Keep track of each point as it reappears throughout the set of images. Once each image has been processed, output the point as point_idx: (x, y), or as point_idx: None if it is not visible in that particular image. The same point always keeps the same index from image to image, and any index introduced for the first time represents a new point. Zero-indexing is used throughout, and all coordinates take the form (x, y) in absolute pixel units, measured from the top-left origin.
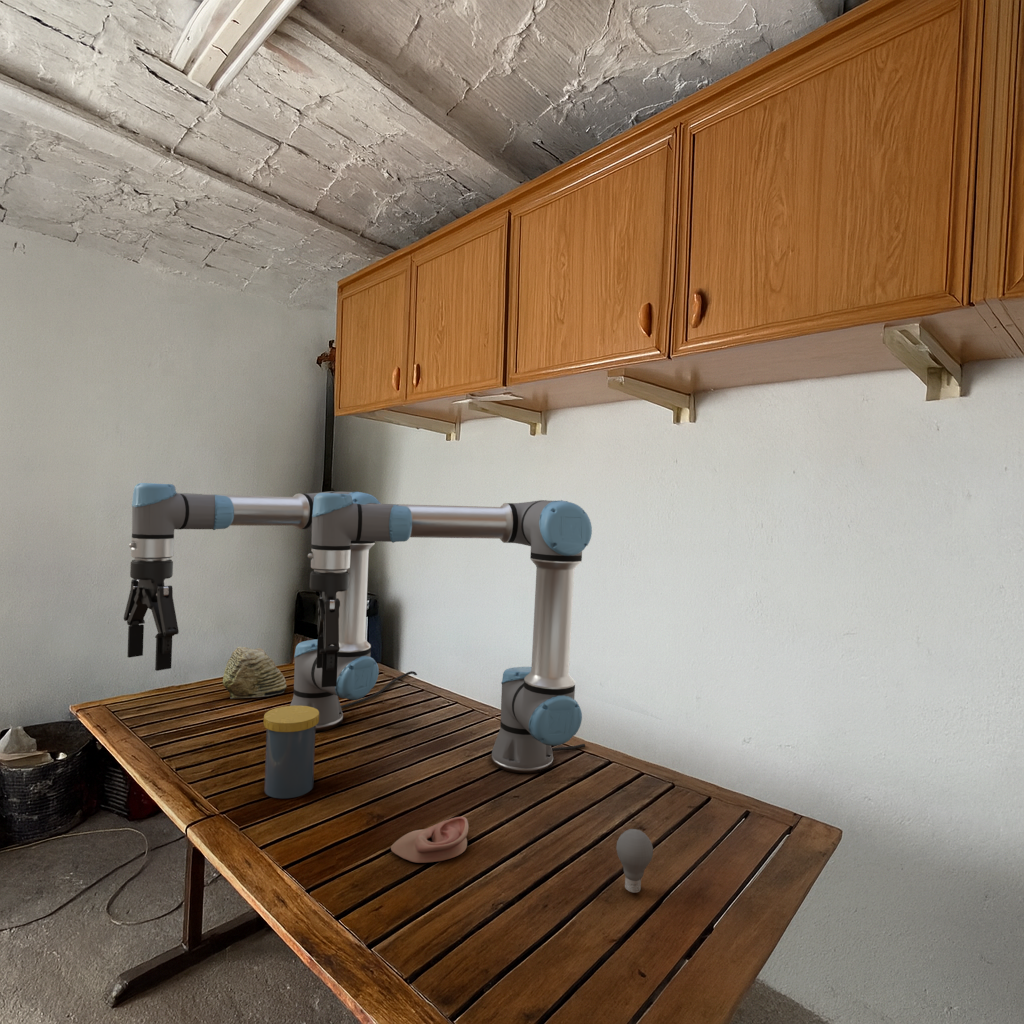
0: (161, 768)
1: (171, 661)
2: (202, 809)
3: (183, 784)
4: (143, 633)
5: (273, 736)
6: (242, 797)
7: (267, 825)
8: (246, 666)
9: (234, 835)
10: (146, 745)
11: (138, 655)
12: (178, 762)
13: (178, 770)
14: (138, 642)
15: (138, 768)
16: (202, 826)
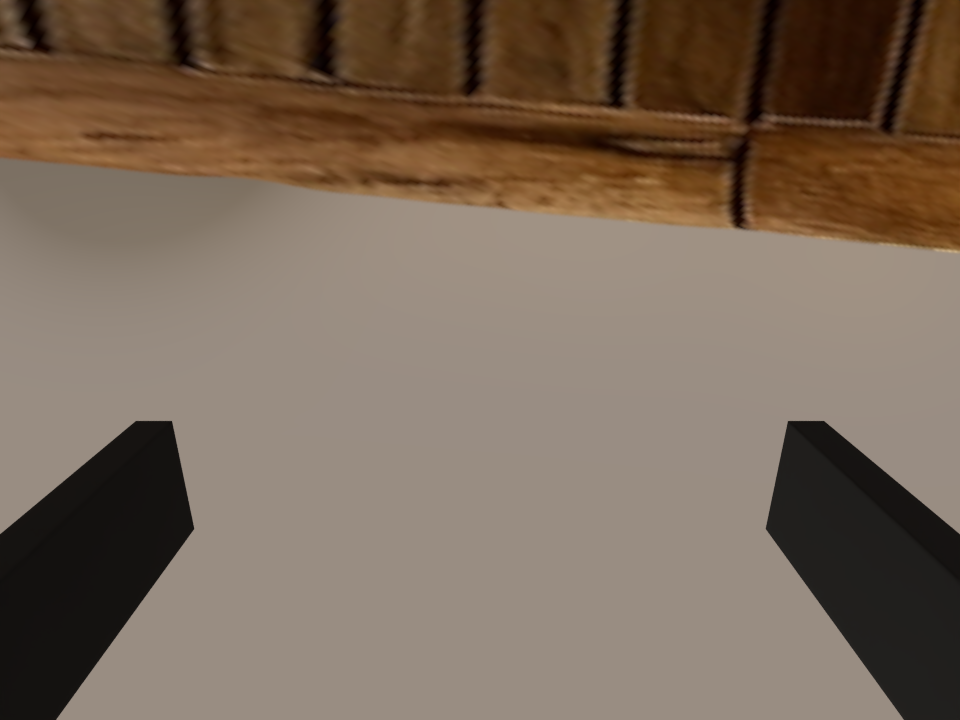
0: (279, 109)
1: (863, 454)
2: (682, 152)
3: (466, 112)
4: (3, 580)
5: None
6: (714, 7)
7: (943, 54)
8: None
9: (899, 161)
10: (4, 53)
11: (178, 461)
12: (260, 35)
13: (336, 70)
14: (99, 550)
15: (229, 169)
16: (776, 201)
